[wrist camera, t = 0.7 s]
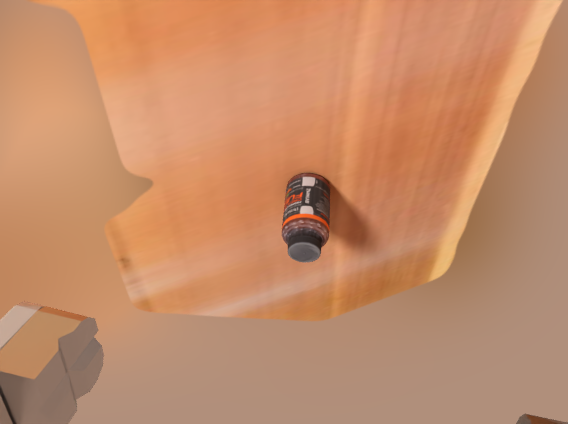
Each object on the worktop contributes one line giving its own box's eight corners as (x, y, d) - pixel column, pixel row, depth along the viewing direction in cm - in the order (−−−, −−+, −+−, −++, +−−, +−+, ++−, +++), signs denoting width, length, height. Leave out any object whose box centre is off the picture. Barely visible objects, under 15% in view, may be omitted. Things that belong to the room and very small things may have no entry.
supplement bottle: (298, 164, 64) (293, 231, 57) (338, 180, 66) (338, 247, 58) (278, 192, 68) (271, 258, 61) (317, 207, 70) (314, 273, 62)
